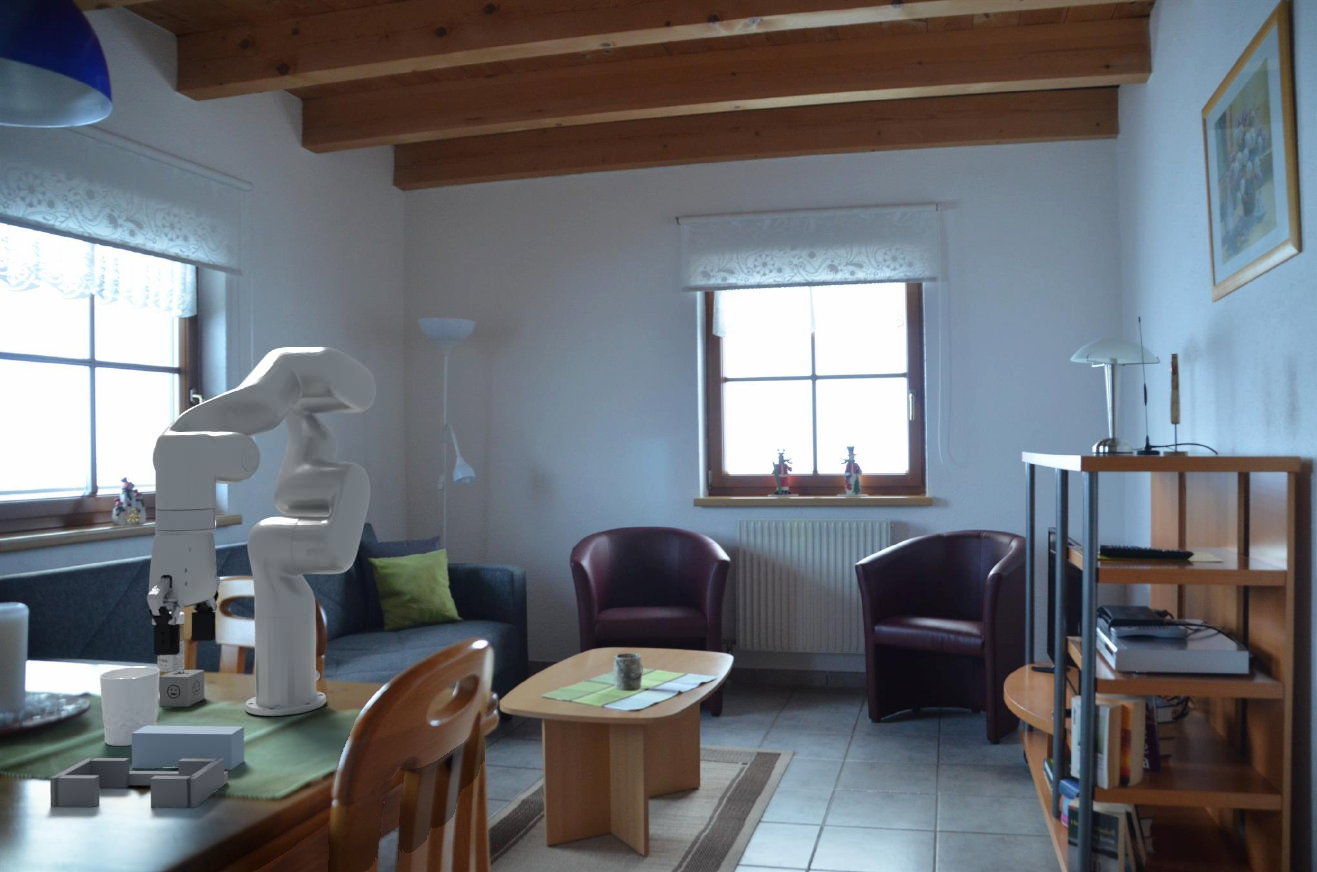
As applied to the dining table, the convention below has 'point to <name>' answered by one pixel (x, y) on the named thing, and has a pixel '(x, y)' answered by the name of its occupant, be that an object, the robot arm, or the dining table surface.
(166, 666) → the sprinkles bottle
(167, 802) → the grey rectangular holder
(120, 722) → the white cup
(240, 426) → the robot arm
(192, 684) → the grey smiley face cube
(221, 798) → the dining table surface
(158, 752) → the blue rectangular block
